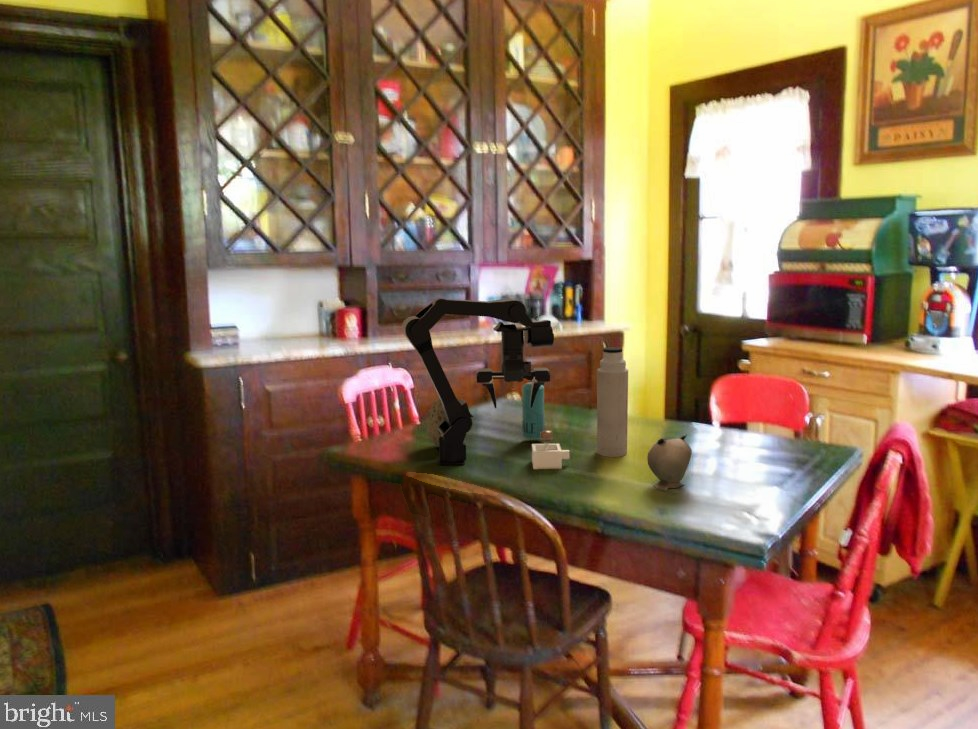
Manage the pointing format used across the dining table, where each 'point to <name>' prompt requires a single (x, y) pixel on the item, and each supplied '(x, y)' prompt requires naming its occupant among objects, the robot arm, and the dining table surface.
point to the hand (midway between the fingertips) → (513, 407)
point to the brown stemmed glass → (546, 437)
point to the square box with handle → (548, 456)
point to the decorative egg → (435, 421)
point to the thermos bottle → (612, 404)
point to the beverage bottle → (532, 412)
